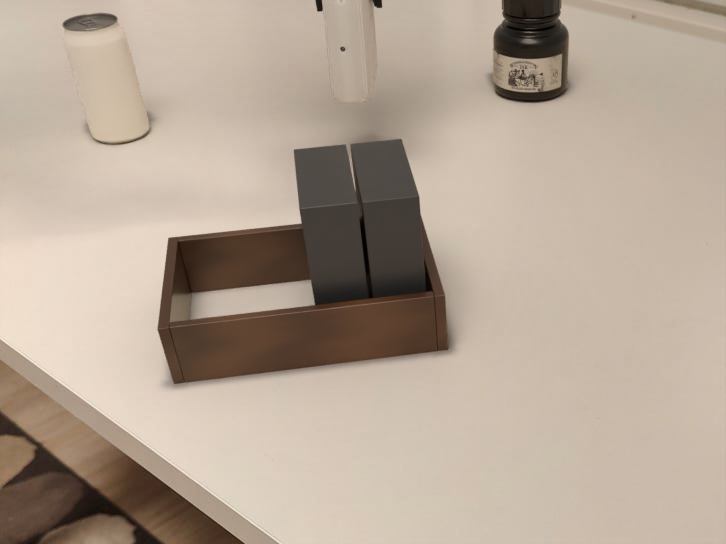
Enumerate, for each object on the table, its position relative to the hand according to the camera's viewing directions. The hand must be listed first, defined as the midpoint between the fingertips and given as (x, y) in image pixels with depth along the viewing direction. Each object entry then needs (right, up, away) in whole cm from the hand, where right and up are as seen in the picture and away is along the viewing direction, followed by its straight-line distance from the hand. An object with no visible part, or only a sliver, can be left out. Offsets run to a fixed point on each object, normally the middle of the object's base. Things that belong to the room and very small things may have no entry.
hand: (348, 3), depth 91 cm
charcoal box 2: (+6, -32, -14) cm, 36 cm away
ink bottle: (+19, +1, +23) cm, 30 cm away
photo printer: (0, -6, +5) cm, 8 cm away
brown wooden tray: (-1, -34, -15) cm, 37 cm away
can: (-28, -7, +16) cm, 33 cm away
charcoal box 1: (+2, -33, -15) cm, 36 cm away
